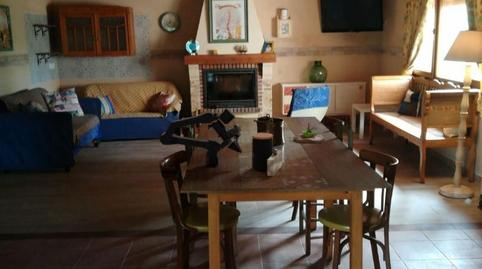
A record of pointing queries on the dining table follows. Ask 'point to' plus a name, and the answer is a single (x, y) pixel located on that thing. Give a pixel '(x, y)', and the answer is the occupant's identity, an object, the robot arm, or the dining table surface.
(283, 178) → the dining table surface
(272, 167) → the bench stop
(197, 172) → the dining table surface
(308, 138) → the plant
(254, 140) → the coffee jar
